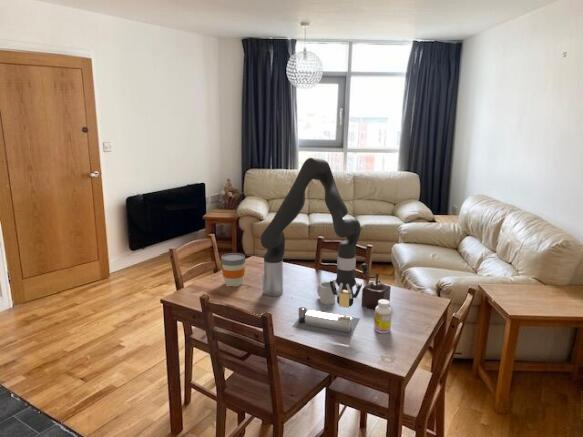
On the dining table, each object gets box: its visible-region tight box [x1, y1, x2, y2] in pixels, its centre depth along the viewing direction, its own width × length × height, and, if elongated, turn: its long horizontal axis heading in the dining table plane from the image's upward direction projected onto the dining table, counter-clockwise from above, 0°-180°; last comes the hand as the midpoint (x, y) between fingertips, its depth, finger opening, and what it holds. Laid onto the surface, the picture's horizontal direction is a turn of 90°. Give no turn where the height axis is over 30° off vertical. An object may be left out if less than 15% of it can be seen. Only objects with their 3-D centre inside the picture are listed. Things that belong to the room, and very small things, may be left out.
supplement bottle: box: [374, 299, 393, 334], centre depth 175 cm, size 7×7×13 cm
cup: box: [317, 281, 337, 305], centre depth 203 cm, size 7×10×9 cm
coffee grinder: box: [360, 263, 392, 312], centre depth 199 cm, size 16×11×18 cm
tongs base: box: [298, 306, 351, 332], centre depth 178 cm, size 23×4×6 cm, turn 69°
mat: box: [291, 308, 361, 339], centre depth 182 cm, size 25×18×1 cm
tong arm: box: [307, 309, 353, 329], centre depth 179 cm, size 19×2×4 cm, turn 69°
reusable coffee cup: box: [220, 252, 246, 287], centre depth 222 cm, size 12×13×15 cm
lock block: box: [338, 290, 350, 308], centre depth 178 cm, size 4×4×6 cm
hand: (344, 304), depth 179 cm, fingers closed on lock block, 4 cm apart
